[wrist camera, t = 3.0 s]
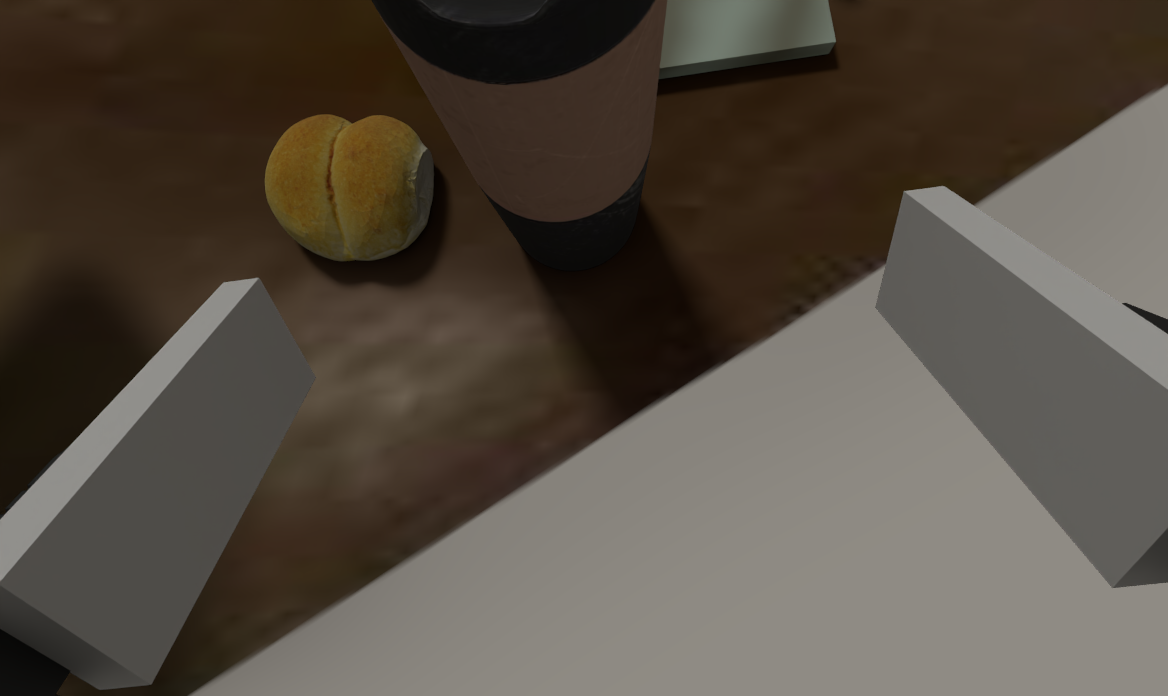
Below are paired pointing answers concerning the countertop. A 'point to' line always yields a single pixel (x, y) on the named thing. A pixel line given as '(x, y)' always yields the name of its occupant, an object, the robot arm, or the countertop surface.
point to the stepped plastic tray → (742, 33)
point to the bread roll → (351, 186)
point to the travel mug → (544, 109)
